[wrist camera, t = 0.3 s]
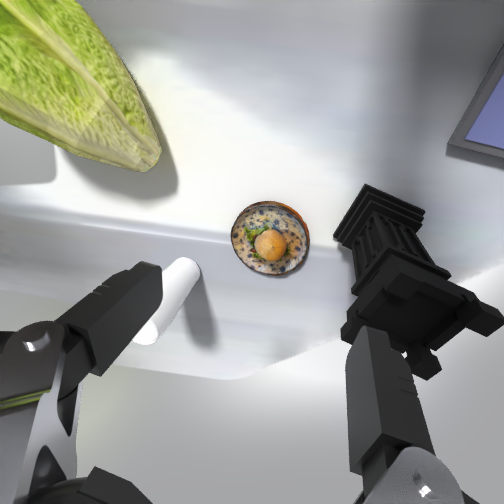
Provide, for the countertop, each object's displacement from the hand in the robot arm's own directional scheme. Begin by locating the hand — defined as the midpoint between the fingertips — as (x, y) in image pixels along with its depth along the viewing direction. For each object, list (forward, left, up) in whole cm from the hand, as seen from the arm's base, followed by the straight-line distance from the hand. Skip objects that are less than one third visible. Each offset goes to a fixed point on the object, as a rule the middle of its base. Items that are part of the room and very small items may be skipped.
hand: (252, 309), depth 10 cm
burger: (+12, -2, -29) cm, 31 cm away
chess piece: (+5, +11, -28) cm, 31 cm away
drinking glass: (+23, -15, -28) cm, 39 cm away
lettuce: (-2, -30, -28) cm, 42 cm away
